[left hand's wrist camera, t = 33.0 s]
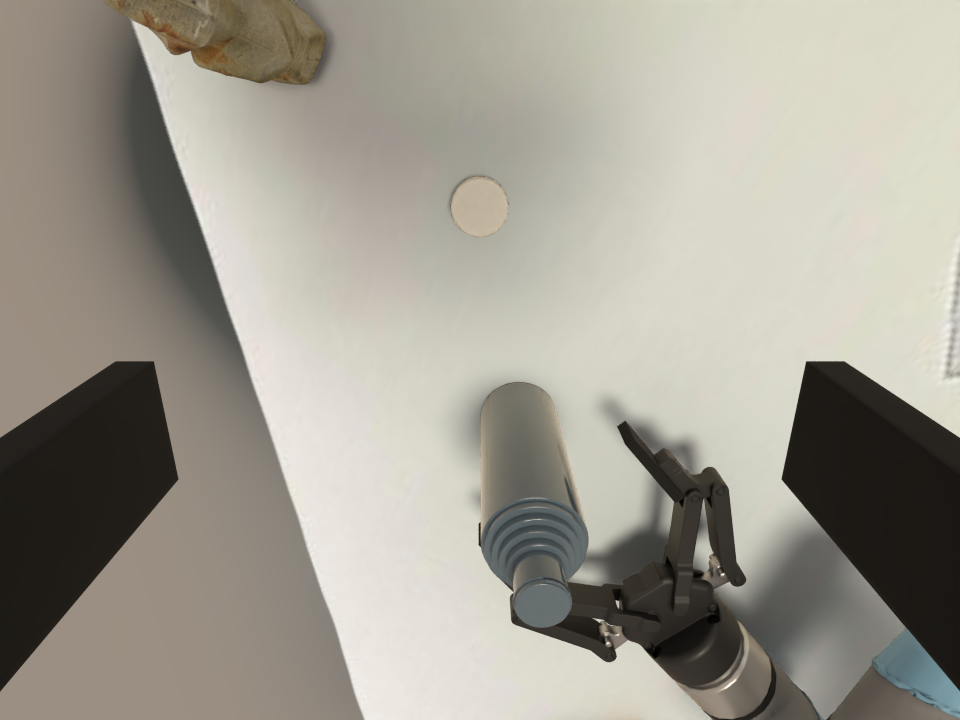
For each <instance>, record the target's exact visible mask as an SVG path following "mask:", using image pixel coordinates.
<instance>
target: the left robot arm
mask: <svg viewBox="0 0 960 720" xmlns="http://www.w3.org/2000/svg"><path fill="white" fill-rule="evenodd" d="M177 480H178V475H177V470H176V465H175V461H174V456H173V451H172V446H171V442H170V437H169V432H168V427H167V422H166V418H165V413H164V408H163V403H162V399H161V394H160V389H159V384H158V379H157V375H156V370H155V365H154V362H152V361H145V362H144V361H143V362H142V361H141V362H140V361H133V362H132V361H122V362H121V361H117V362H114V363H113V364H111V365H110V366H108V367H107V368H105V369H104V370H102V371H101V372H99V373H98V374H96V375H95V376H93V377H91V378H90V379H88V380H87V381H85V382H84V383H82V384H81V385H79V386H78V387H76V388H75V389H73V390H72V391H70V392H69V393H67V394H66V395H64V396H63V397H61V398H60V399H58V400H57V401H55V402H54V403H52V404H51V405H49V406H48V407H46V408H45V409H43V410H42V411H40V412H39V413H37V414H36V415H34V416H32V417H31V418H29V419H28V420H26V421H25V422H24V423H22V424H20V425H19V426H17V427H16V428H14V429H13V430H11V431H10V432H8V433H7V434H5V435H4V436H2V437H1V438H0V691H1V690H2V689H3V687H4V686H5V685H6V684H7V683H8V681H9V680H10V679H11V678H12V677H13V676H14V674H15V673H16V672H17V671H18V670H19V668H20V667H21V666H22V665H23V664H24V662H25V661H26V660H27V659H28V658H29V657H30V655H31V654H32V653H33V652H34V651H35V649H36V648H37V647H38V646H39V645H40V643H41V642H42V641H43V640H44V639H45V637H46V636H47V635H48V634H49V633H50V632H51V630H52V629H53V628H54V627H55V626H56V624H57V623H58V622H59V621H60V620H61V618H62V617H63V616H64V615H65V614H66V613H67V611H68V610H69V609H70V608H71V607H72V605H73V604H74V603H75V602H76V601H77V599H78V598H79V597H80V596H81V595H82V593H83V592H84V591H85V590H86V589H87V588H88V586H89V585H90V584H91V583H92V582H93V580H94V579H95V578H96V577H97V576H98V574H99V573H100V572H101V571H102V570H103V568H104V567H105V566H106V565H107V564H108V563H109V561H110V560H111V559H112V558H113V556H114V555H115V554H116V553H117V552H118V551H119V549H120V548H121V547H122V546H123V545H124V543H125V542H126V541H127V540H128V539H129V538H130V536H131V535H132V534H133V533H134V532H135V530H136V529H137V528H138V527H139V526H140V524H141V523H142V522H143V521H144V520H145V518H146V517H147V516H148V515H149V514H150V513H151V511H152V510H153V509H154V508H155V507H156V505H157V504H158V503H159V502H160V501H161V499H162V498H163V497H164V496H165V495H166V494H167V492H168V491H169V490H170V489H171V488H172V486H173V485H174V484H175V483H176V482H177ZM782 480H783V482H784V483H785V484H786V485H787V486H788V488H789V489H790V490H791V491H792V492H793V494H794V495H795V496H796V497H797V498H798V499H799V501H800V502H801V503H802V504H803V505H804V507H805V508H806V509H807V510H808V511H809V513H810V514H811V515H812V516H813V517H814V519H815V520H816V521H817V522H818V523H819V524H820V526H821V527H822V528H823V529H824V530H825V532H826V533H827V534H828V535H829V536H830V538H831V539H832V540H833V541H834V542H835V543H836V545H837V546H838V547H839V548H840V549H841V551H842V552H843V553H844V554H845V555H846V557H847V558H848V559H849V560H850V561H851V563H852V564H853V565H854V566H855V567H856V568H857V570H858V571H859V572H860V573H861V574H862V576H863V577H864V578H865V579H866V580H867V582H868V583H869V584H870V585H871V586H872V588H873V589H874V590H875V591H876V592H877V593H878V595H879V596H880V597H881V598H882V599H883V601H884V602H885V603H886V604H887V605H888V607H889V608H890V609H891V610H892V611H893V613H894V614H895V615H896V616H897V617H898V618H899V620H900V621H901V622H902V623H903V624H904V626H905V627H906V628H907V629H908V630H909V632H910V633H911V634H912V635H913V636H914V638H915V639H916V640H917V641H918V642H919V643H920V645H921V646H922V647H923V648H924V649H925V651H926V652H927V653H928V654H929V655H930V657H931V658H932V659H933V660H934V661H935V662H936V664H937V665H938V666H939V667H940V668H941V670H942V671H943V672H944V673H945V674H946V676H947V677H948V678H949V679H950V680H951V682H952V683H953V684H954V685H955V686H956V687H957V689H958V690H959V691H960V438H959V437H958V436H956V435H955V434H953V433H952V432H950V431H949V430H947V429H946V428H944V427H943V426H941V425H940V424H938V423H937V422H935V421H934V420H932V419H931V418H929V417H928V416H926V415H924V414H923V413H921V412H920V411H918V410H917V409H915V408H914V407H912V406H911V405H909V404H908V403H906V402H905V401H903V400H902V399H900V398H899V397H897V396H896V395H894V394H893V393H891V392H890V391H888V390H887V389H885V388H884V387H882V386H881V385H879V384H878V383H876V382H875V381H873V380H872V379H870V378H869V377H867V376H866V375H864V374H863V373H861V372H859V371H858V370H856V369H855V368H853V367H852V366H850V365H849V364H847V363H846V362H844V361H806V365H805V370H804V375H803V379H802V384H801V389H800V394H799V398H798V403H797V408H796V413H795V418H794V422H793V427H792V432H791V437H790V441H789V446H788V451H787V456H786V461H785V465H784V470H783V475H782Z"/></svg>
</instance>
